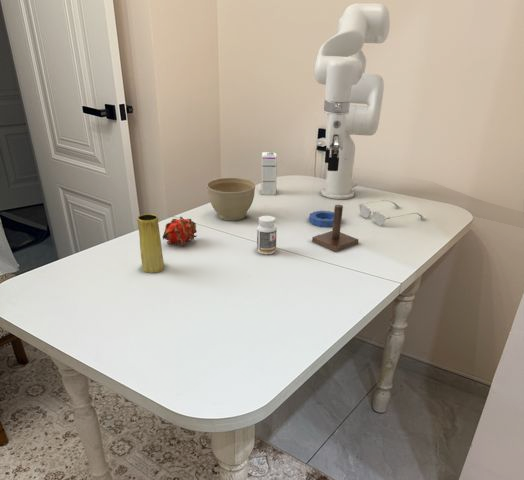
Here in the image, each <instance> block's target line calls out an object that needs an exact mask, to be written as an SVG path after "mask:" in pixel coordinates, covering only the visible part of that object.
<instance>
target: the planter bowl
mask: <svg viewBox="0 0 524 480" xmlns="http://www.w3.org/2000/svg"><path fill="white" fill-rule="evenodd" d="M206 189H207V195H208V200H209V203H210V204H211V206H212V208H213V210H214V211H215V212H216V213H217V217H218V218H219V219H221V220H224V221H241V220H242V219H244V218H245V217H246V215H247V212H248V211H249V210H250V208H251V206H252V204H253V201H254V198H255V191H256V190H255V189H256V183H255V181H253V180H250V179H247V178H241V177H220V178H215V179H212V180H209V181H208V182H207V183H206Z"/></svg>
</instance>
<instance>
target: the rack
mask: <svg viewBox="0 0 524 480" xmlns="http://www.w3.org/2000/svg"><path fill="white" fill-rule="evenodd" d="M343 211H344V205H342V204H335V205H334V211H333V212H334V219H333V227H332V229H331V231H327V232H324V233H321V234H318V235H314V236H312V238H311V242H312V243H314V244H317V245H319V246H320V247H323V248H326V249H328V250H331V251H333V252H335V253H336V252H339V251H343V250H345V249H347V248H351V247H354V246H356V245H359V238H356V237H353V236H351V235H349V234H346V233H343V232H341V229H342V219H343Z"/></svg>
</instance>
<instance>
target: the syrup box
mask: <svg viewBox="0 0 524 480" xmlns="http://www.w3.org/2000/svg"><path fill="white" fill-rule="evenodd" d="M277 157H278V153H277V152H276V151H275V152H274V151H263V152H261V171H260V172H261V173H260V174H261V183H260V184H261V186H260V187H261V190H260V191H261V193H260V194H261V195H267V196H269V195H270V196H273V195H274V196H276V195H277V175H278V173H277V172H278V170H277V169H278V167H277V166H278V165H277V164H278V160H277V159H278V158H277Z"/></svg>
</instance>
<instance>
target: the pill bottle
mask: <svg viewBox="0 0 524 480" xmlns="http://www.w3.org/2000/svg"><path fill="white" fill-rule="evenodd" d="M258 224H259V225H257V227H256V251H257V252H258V253H259V254H261V255H273V254H275V253H276V251H277V226H276V225H275V224H276V218H275V217H274V216H271V215H262V216H260V217H258Z"/></svg>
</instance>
